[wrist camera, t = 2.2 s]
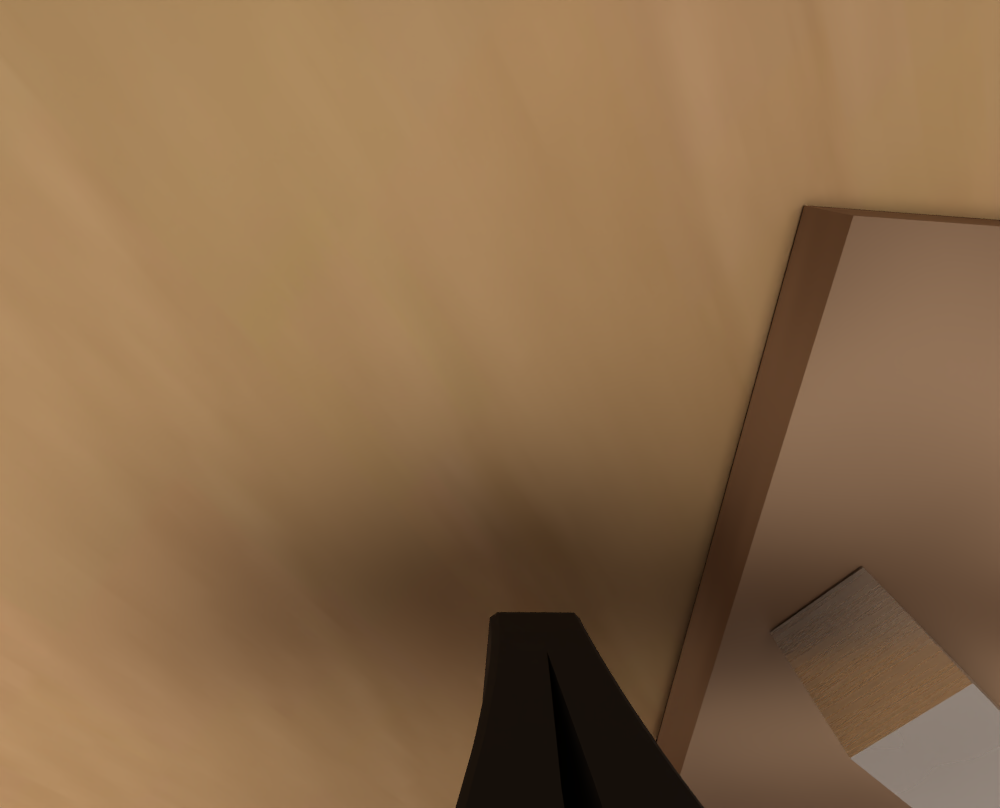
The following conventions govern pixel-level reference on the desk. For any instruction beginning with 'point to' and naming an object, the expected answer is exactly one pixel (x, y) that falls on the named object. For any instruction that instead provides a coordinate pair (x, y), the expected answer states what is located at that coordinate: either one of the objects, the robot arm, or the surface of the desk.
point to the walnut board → (849, 497)
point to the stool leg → (895, 697)
